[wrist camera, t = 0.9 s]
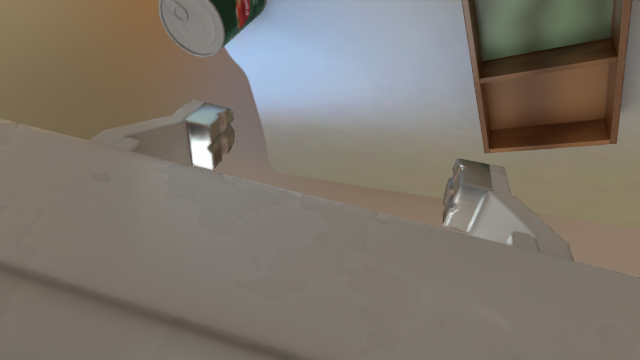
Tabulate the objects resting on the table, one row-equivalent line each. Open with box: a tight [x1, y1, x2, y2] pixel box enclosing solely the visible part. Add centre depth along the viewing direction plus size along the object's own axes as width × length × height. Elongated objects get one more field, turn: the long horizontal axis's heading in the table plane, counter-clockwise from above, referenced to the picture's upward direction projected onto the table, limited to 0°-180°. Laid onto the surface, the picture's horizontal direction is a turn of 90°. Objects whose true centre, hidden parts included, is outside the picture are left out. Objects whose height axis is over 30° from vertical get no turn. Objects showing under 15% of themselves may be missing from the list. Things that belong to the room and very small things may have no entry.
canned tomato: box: [159, 0, 266, 57], centre depth 45 cm, size 8×8×11 cm
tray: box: [462, 0, 632, 153], centre depth 40 cm, size 13×20×5 cm, turn 22°
